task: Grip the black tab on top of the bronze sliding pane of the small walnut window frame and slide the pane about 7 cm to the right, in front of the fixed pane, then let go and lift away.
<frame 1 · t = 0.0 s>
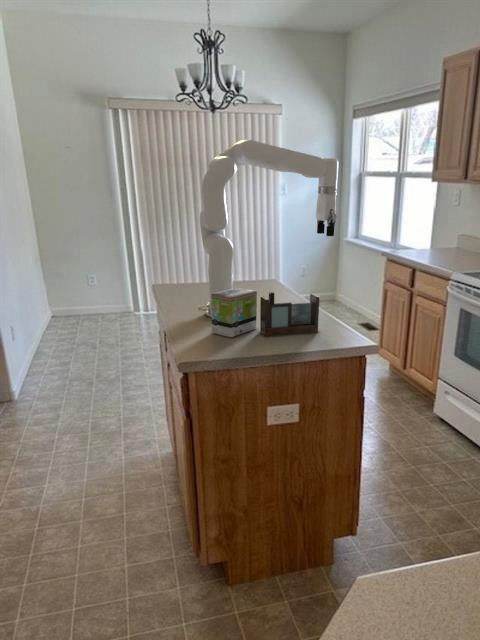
hand: (325, 234, 223), 31 cm above the counter, tool pointing down, fingers open, 9 cm apart
window frame: (289, 332, 198), on the counter
tea box: (234, 331, 198), on the counter
sliding pane: (279, 311, 192), point 9 cm above the counter, slide at 0.0 cm
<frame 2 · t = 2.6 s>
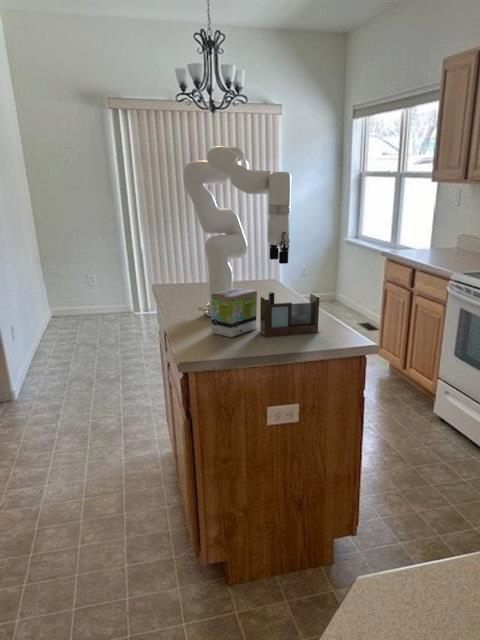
hand: (278, 261, 188), 26 cm above the counter, tool pointing down, fingers open, 9 cm apart
nothing on the counter moved.
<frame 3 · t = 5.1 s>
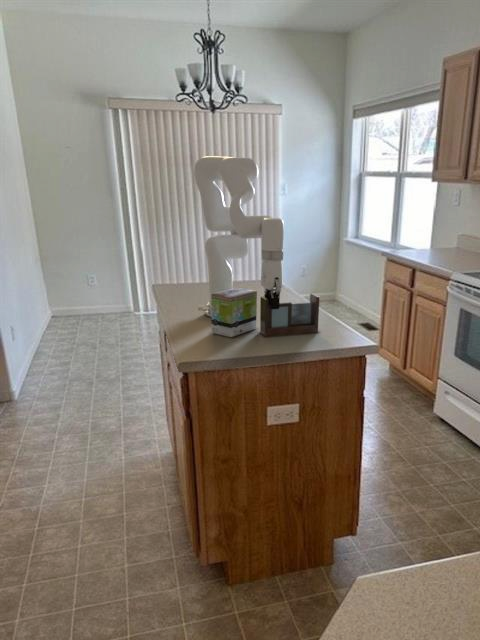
hand: (271, 306, 190), 11 cm above the counter, tool pointing down, fingers open, 5 cm apart
nothing on the counter moved.
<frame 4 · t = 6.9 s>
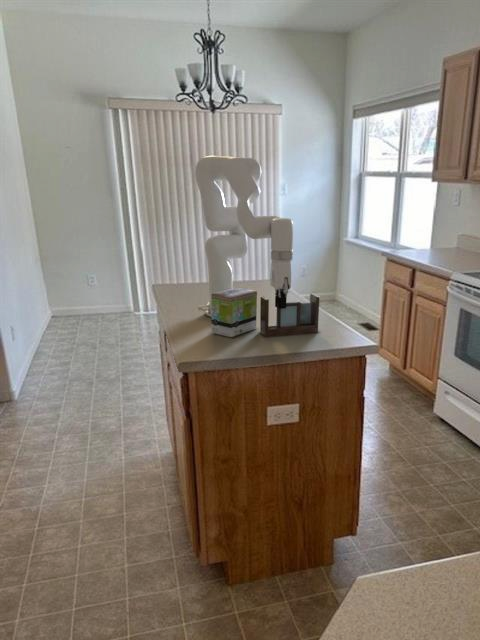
hand: (280, 307, 191), 10 cm above the counter, tool pointing down, fingers closed on sliding pane
sliding pane: (288, 310, 193), point 9 cm above the counter, slide at 3.4 cm, touching gripper
everything else where it was.
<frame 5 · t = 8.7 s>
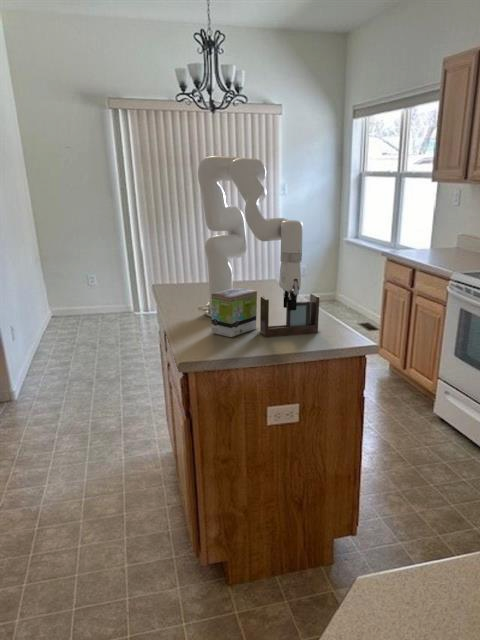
hand: (289, 308, 193), 10 cm above the counter, tool pointing down, fingers open, 3 cm apart
sliding pane: (298, 310, 194), point 9 cm above the counter, slide at 7.1 cm
everything else where it was.
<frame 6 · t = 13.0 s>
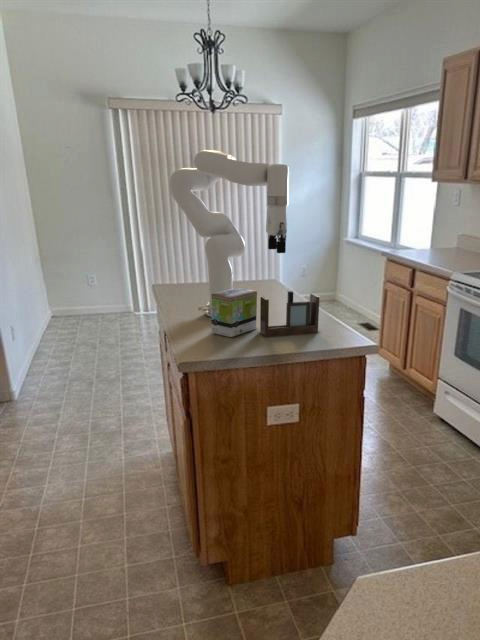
hand: (276, 251, 195), 28 cm above the counter, tool pointing down, fingers open, 9 cm apart
nothing on the counter moved.
at the end: sliding pane slide at 7.1 cm; the gripper is holding nothing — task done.
